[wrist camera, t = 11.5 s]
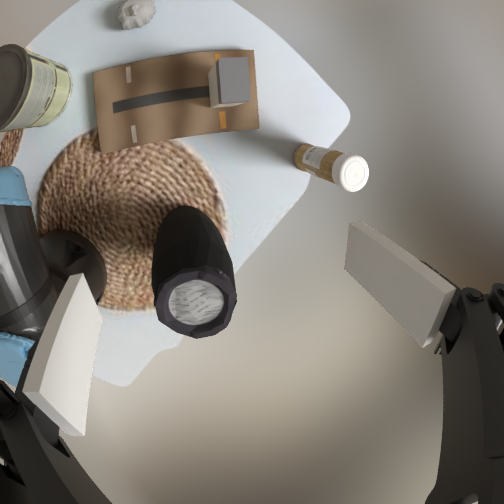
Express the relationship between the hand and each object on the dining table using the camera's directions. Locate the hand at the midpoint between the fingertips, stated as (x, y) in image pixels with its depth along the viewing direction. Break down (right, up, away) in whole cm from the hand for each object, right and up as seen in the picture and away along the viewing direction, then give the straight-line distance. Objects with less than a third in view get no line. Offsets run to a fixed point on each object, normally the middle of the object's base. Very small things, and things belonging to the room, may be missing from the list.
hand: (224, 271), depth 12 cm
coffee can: (-29, +24, +12) cm, 40 cm away
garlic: (-15, +34, +12) cm, 39 cm away
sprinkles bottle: (+10, +16, +28) cm, 34 cm away
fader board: (-9, +22, +19) cm, 31 cm away
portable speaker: (-9, +4, +29) cm, 30 cm away
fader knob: (-3, +22, +18) cm, 29 cm away
